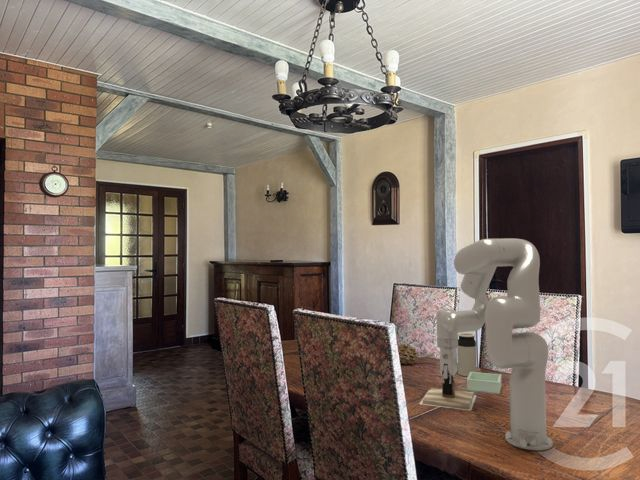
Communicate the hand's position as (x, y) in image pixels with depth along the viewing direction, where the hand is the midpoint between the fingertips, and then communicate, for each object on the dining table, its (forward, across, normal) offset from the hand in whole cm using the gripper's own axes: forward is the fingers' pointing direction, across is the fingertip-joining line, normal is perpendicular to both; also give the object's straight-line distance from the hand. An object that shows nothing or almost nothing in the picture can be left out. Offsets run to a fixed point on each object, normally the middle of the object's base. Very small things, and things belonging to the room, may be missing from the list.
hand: (448, 392), depth 170 cm
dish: (+3, +20, -11) cm, 23 cm away
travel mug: (+3, +40, -2) cm, 40 cm away
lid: (+3, 0, 0) cm, 3 cm away
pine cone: (+3, +50, +25) cm, 56 cm away
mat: (+3, 0, 0) cm, 3 cm away
